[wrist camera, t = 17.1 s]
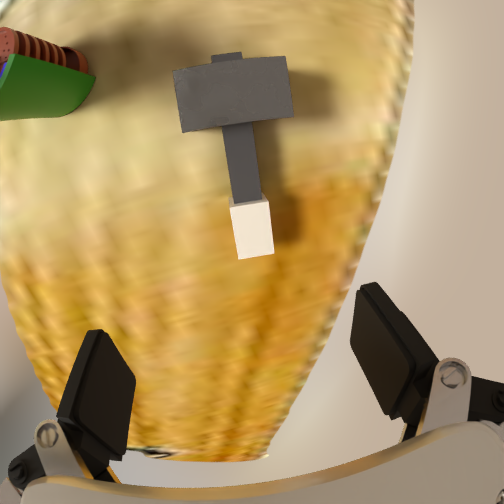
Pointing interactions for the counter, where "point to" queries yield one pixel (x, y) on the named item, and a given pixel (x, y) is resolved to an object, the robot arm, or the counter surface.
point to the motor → (39, 77)
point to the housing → (233, 92)
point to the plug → (246, 186)
